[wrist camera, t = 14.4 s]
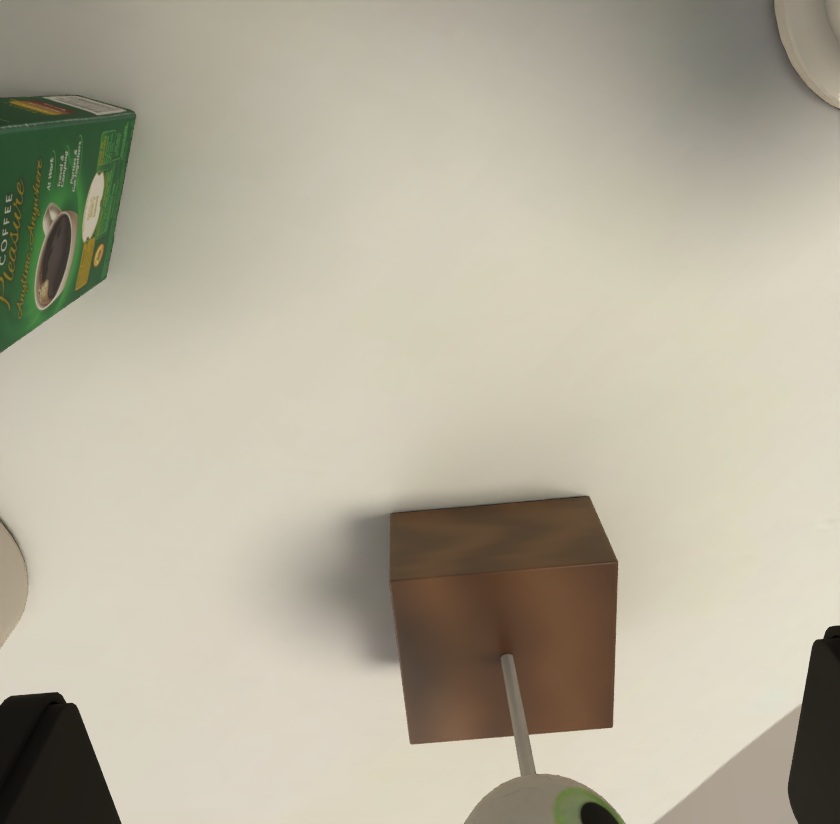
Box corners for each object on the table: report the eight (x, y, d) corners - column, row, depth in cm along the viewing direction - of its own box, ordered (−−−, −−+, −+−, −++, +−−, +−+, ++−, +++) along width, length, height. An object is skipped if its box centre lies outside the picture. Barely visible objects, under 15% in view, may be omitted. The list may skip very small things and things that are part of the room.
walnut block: (589, 495, 41) (618, 561, 36) (587, 649, 46) (613, 728, 41) (390, 513, 41) (389, 581, 36) (408, 664, 46) (410, 745, 41)
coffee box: (73, 82, 32) (-118, 94, 20) (141, 106, 32) (-6, 132, 21) (47, 260, 35) (-131, 362, 23) (110, 279, 36) (-34, 389, 24)
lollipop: (604, 635, 38) (720, 957, 24) (529, 727, 40) (596, 1065, 27) (482, 582, 36) (534, 895, 23) (412, 682, 39) (420, 1017, 25)
